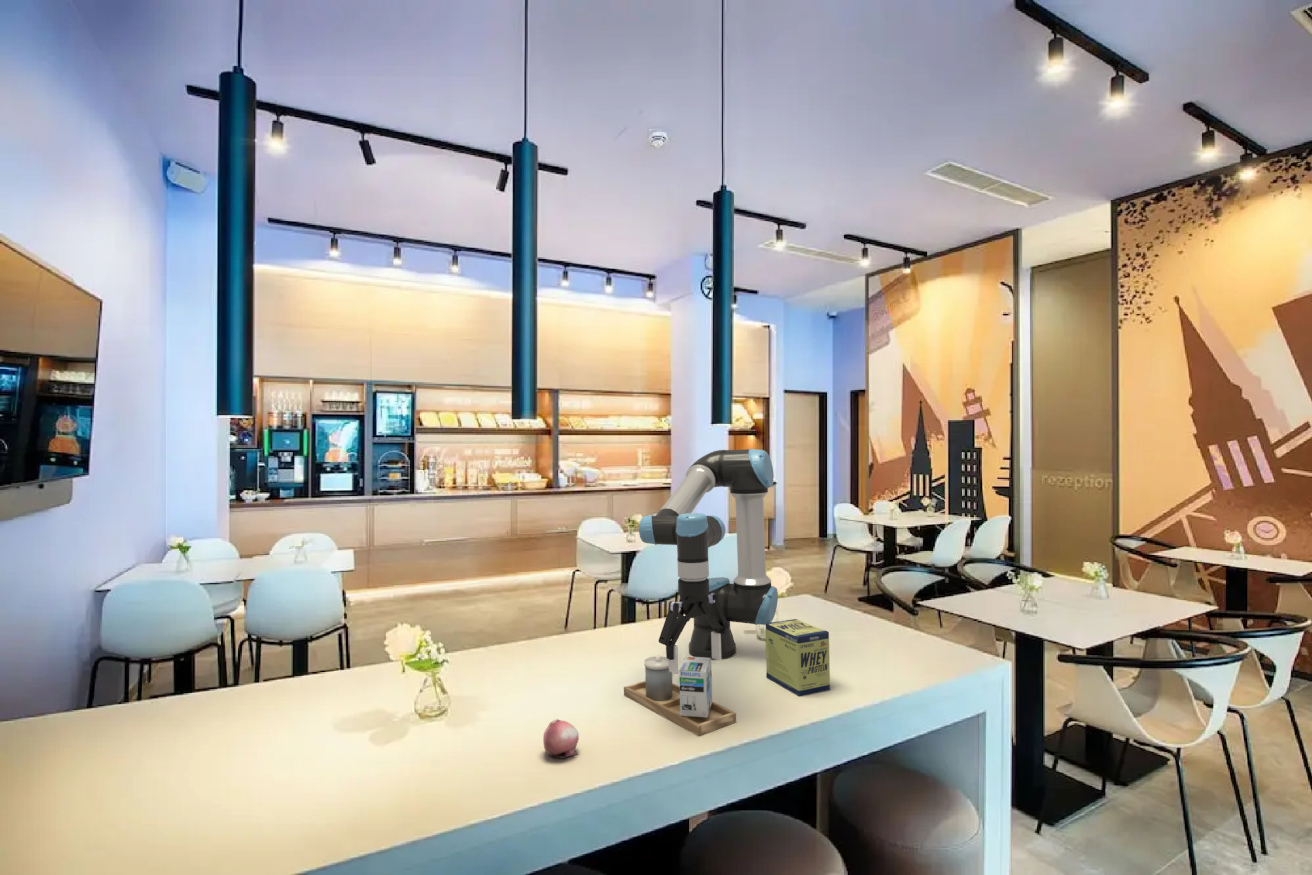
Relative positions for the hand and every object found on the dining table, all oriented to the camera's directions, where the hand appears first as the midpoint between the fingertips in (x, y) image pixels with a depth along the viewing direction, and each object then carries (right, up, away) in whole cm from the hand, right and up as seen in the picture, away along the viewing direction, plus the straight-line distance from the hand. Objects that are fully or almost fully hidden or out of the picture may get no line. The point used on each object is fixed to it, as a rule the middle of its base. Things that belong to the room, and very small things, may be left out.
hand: (695, 665), depth 150 cm
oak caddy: (-4, -13, +5) cm, 14 cm away
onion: (-30, -13, -18) cm, 37 cm away
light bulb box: (0, -10, -1) cm, 10 cm away
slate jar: (-9, -13, +11) cm, 19 cm away
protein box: (+29, -13, +20) cm, 38 cm away
